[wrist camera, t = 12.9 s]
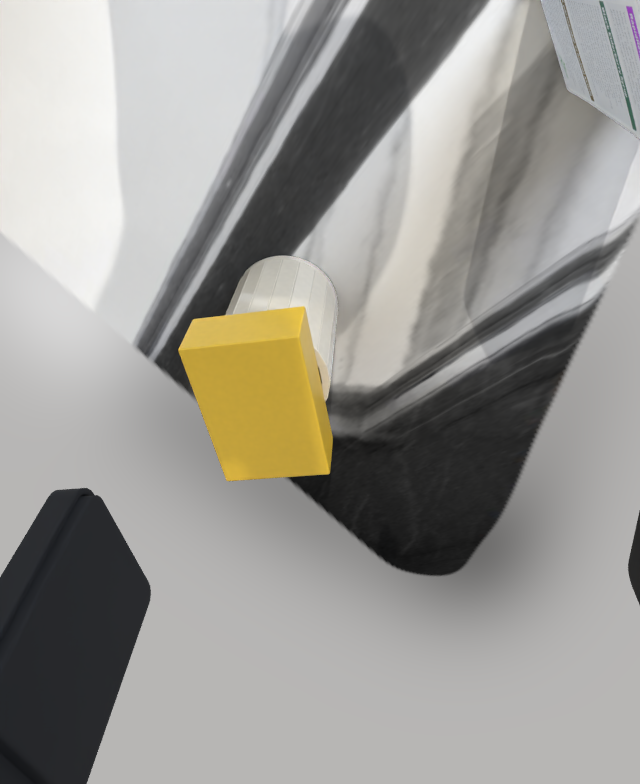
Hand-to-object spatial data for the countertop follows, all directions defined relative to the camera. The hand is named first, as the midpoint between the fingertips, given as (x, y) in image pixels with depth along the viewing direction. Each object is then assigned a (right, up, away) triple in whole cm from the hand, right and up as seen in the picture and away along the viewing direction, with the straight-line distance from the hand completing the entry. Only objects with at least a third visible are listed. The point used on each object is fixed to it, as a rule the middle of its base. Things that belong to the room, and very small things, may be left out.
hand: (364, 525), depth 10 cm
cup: (-3, +8, +30) cm, 31 cm away
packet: (-4, +3, +22) cm, 23 cm away
